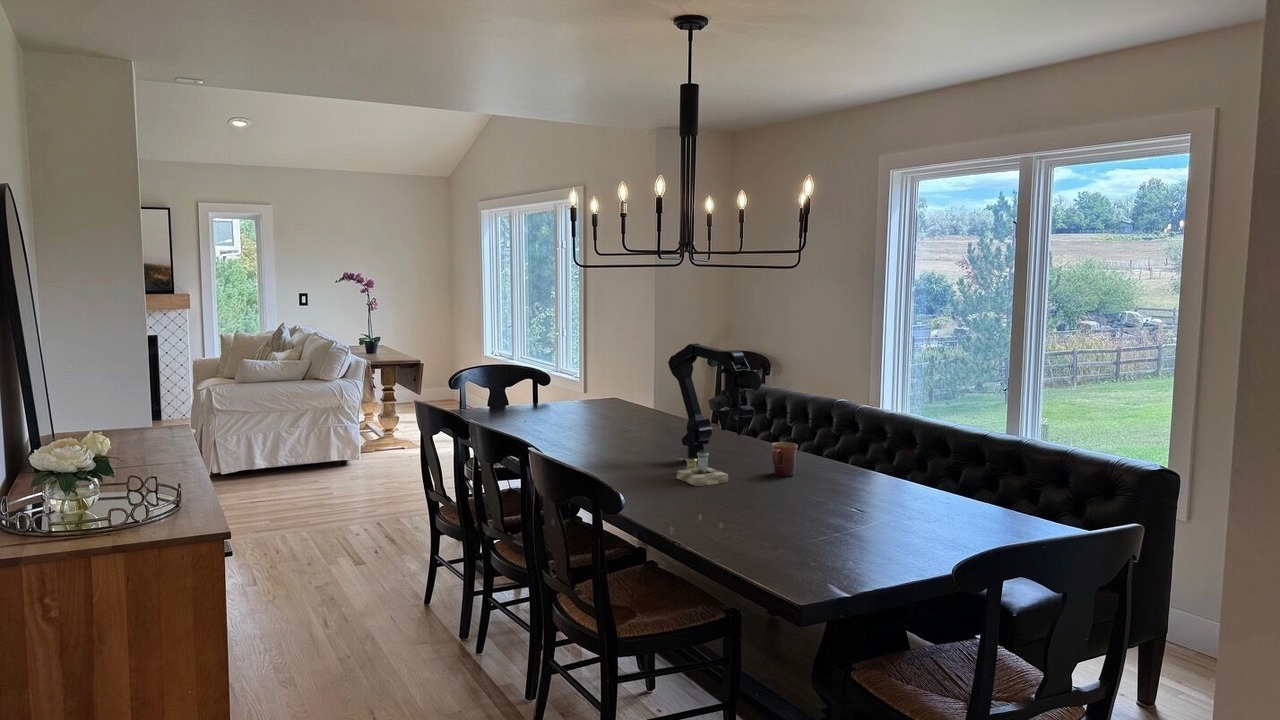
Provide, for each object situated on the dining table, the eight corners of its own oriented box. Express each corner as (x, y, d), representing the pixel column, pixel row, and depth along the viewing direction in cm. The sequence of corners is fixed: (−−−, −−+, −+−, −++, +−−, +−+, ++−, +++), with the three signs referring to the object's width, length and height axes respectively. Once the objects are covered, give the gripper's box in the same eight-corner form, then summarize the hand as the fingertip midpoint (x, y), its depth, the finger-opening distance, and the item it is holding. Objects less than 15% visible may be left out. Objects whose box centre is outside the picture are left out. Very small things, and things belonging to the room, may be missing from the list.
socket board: (676, 478, 287) (676, 470, 287) (707, 474, 293) (707, 466, 293) (696, 486, 277) (697, 477, 276) (727, 482, 283) (728, 474, 282)
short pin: (683, 471, 297) (683, 458, 296) (693, 470, 298) (693, 457, 298) (689, 474, 293) (690, 460, 293) (699, 472, 295) (699, 459, 295)
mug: (778, 470, 301) (779, 441, 300) (801, 474, 296) (802, 444, 295) (761, 476, 291) (762, 446, 290) (784, 480, 286) (785, 449, 285)
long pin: (694, 479, 286) (694, 452, 285) (703, 478, 288) (704, 451, 287) (700, 482, 282) (701, 454, 281) (710, 480, 284) (711, 453, 283)
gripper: (697, 385, 301) (696, 429, 303) (728, 392, 285) (727, 439, 287) (724, 383, 307) (723, 427, 308) (756, 390, 290) (754, 436, 292)
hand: (731, 432), depth 299 cm, fingers open, 9 cm apart
